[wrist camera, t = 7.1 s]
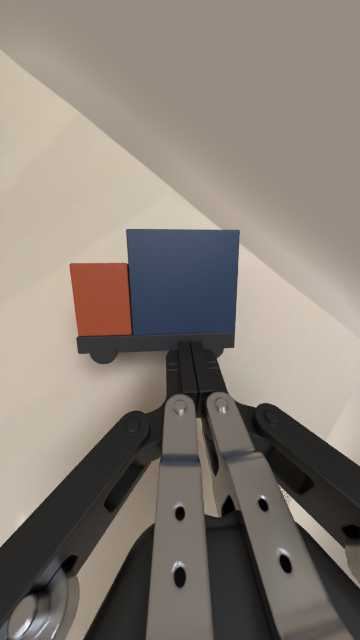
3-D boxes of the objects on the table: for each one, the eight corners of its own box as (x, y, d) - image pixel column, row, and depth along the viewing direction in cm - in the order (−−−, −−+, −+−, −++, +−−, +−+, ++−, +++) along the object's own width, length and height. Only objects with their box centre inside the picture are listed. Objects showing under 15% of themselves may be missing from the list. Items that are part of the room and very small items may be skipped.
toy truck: (215, 338, 18) (218, 246, 17) (234, 359, 13) (240, 229, 11) (104, 342, 17) (94, 246, 16) (78, 365, 12) (60, 227, 11)
